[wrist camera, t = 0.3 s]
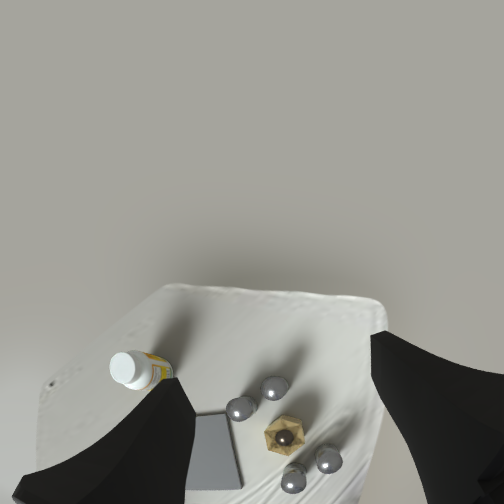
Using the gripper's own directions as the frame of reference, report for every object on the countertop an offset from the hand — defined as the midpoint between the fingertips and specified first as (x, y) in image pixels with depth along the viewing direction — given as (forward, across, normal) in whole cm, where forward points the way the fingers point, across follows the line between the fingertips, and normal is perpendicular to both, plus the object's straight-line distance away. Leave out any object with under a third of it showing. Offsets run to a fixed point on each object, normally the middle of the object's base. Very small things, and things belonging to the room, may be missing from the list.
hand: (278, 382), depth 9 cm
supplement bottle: (+24, +19, +16) cm, 35 cm away
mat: (+15, +14, +26) cm, 33 cm away
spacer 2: (+21, +2, +19) cm, 28 cm away
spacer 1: (+20, +7, +21) cm, 29 cm away
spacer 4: (+13, -3, +27) cm, 31 cm away
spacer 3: (+12, +2, +29) cm, 31 cm away
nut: (+16, +2, +24) cm, 29 cm away
